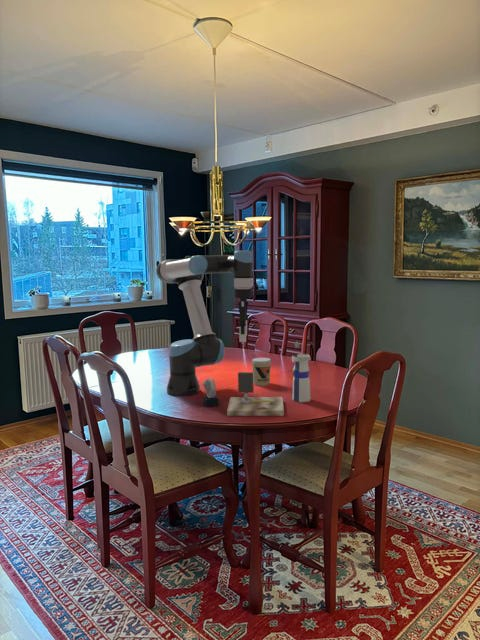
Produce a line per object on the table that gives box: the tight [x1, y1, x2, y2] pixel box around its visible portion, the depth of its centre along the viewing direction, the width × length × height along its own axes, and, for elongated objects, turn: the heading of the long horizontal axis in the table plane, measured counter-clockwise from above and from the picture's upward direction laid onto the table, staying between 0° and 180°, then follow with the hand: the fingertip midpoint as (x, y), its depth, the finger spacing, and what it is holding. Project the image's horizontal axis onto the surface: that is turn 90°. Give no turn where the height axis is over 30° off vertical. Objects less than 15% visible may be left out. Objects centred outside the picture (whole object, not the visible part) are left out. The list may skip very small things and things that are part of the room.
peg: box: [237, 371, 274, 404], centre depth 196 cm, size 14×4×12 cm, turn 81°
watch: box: [202, 378, 220, 408], centre depth 202 cm, size 6×8×11 cm
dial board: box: [226, 396, 285, 417], centre depth 197 cm, size 22×18×2 cm
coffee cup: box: [251, 357, 272, 387], centre depth 233 cm, size 9×9×12 cm
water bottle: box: [291, 340, 312, 403], centre depth 206 cm, size 8×9×25 cm
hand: (243, 338), depth 203 cm, fingers open, 13 cm apart
